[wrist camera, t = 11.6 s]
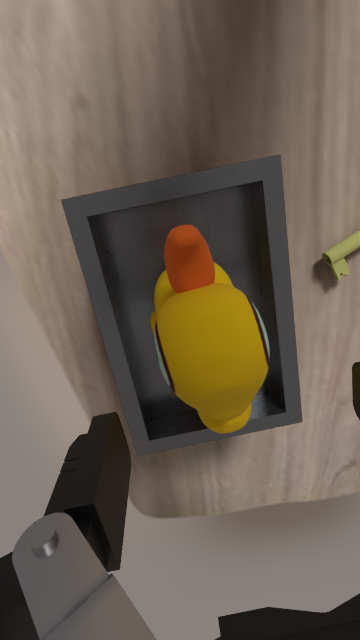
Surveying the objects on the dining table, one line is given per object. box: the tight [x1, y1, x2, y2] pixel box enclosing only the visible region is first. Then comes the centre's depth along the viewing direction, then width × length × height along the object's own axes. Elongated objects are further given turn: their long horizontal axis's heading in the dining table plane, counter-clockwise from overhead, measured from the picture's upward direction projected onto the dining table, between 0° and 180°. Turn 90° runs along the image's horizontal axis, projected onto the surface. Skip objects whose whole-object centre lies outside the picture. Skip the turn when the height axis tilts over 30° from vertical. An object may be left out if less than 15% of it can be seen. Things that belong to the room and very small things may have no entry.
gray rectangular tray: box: [61, 154, 302, 456], centre depth 23 cm, size 11×16×9 cm
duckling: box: [151, 224, 270, 434], centre depth 16 cm, size 11×5×10 cm, turn 16°
